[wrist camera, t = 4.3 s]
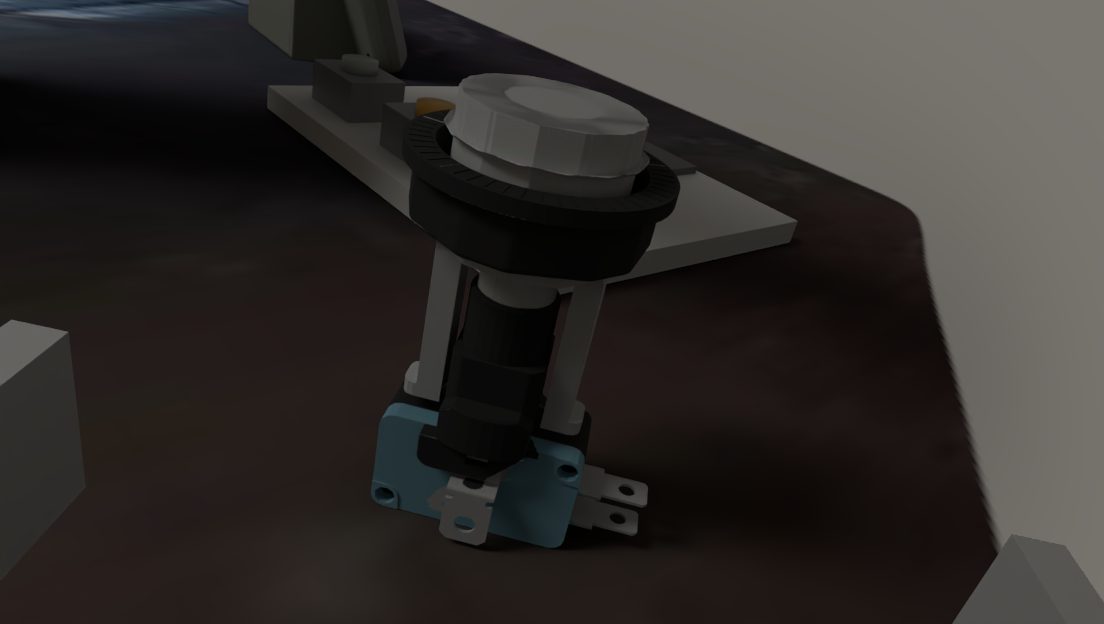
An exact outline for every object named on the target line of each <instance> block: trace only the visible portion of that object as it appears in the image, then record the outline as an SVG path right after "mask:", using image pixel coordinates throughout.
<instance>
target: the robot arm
mask: <svg viewBox="0 0 1104 624" xmlns="http://www.w3.org/2000/svg"><path fill="white" fill-rule="evenodd" d="M85 487H86V486H85V477H84V468H83V459H82V450H81V441H80V432H79V423H78V414H77V404H76V395H75V386H74V377H73V368H72V359H71V350H70V341H69V332H66V331H61V330H57V329H52V328H47V327H43V326H38V325H33V324H29V323H24V322H19V321H15V320H10V321H9V322H8V323H6V324H5V325H3V326H2V327H0V581H1V580H2V579H3V578H4V576H5V575H6V574H7V573H8V572H9V571H10V570H11V569H12V568H13V566H14V565H15V564H16V563H17V562H18V561H19V560H20V559H21V558H22V557H23V555H24V554H25V553H26V552H27V551H28V550H29V549H30V548H31V547H32V546H33V544H34V543H35V542H36V541H37V540H38V539H39V538H40V537H41V536H42V534H43V533H44V532H45V531H46V530H47V529H48V528H49V527H50V526H51V525H52V523H53V522H54V521H55V520H56V519H57V518H58V517H59V516H60V515H61V514H62V512H63V511H64V510H65V509H66V508H67V507H68V506H69V505H70V504H71V502H72V501H73V500H74V499H75V498H76V497H77V496H78V495H79V494H80V493H81V491H82V490H83V489H84V488H85ZM952 624H1104V603H1103V601H1102V599H1101V598H1100V596H1099V595H1098V593H1097V592H1096V591H1095V589H1094V588H1093V586H1092V585H1091V583H1090V582H1089V580H1088V579H1087V578H1086V576H1085V575H1084V573H1083V571H1082V570H1081V569H1080V567H1079V566H1078V564H1077V563H1076V561H1075V560H1074V558H1073V557H1072V556H1071V554H1070V552H1069V551H1068V550H1067V548H1066V547H1065V546H1064V545H1059V544H1054V543H1049V542H1045V541H1040V540H1036V539H1031V538H1026V537H1022V536H1017V535H1011V537H1010V538H1009V539H1008V541H1007V542H1006V544H1005V545H1004V547H1003V548H1002V550H1001V551H1000V553H999V554H998V556H997V557H996V559H995V560H994V562H993V563H992V565H991V566H990V568H989V569H988V571H987V572H986V574H985V575H984V577H983V578H982V580H981V581H980V583H979V584H978V586H977V587H976V589H975V590H974V592H973V593H972V595H971V596H970V598H969V599H968V601H967V602H966V604H965V605H964V607H963V608H962V610H961V611H960V613H959V614H958V616H957V617H956V619H955V620H954V622H953V623H952Z"/></svg>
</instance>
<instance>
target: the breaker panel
mask: <svg viewBox="0 0 1104 624" xmlns="http://www.w3.org/2000/svg"><path fill="white" fill-rule="evenodd" d="M378 65H379V61H378V60H376V59H374V58H372V57H368V56H364V55H358V54H345V55H343V56H342V60H333V59H314V68H313V86H268V98H267V108H268V109H269V110H270V111H272V112H273V113H274V114H276V115H277V116H278V117H279V118H281V119H282V120H283V121H285V122H286V123H287V124H289V125H290V126H291V127H292V128H294V129H295V130H296V131H298V132H299V133H300V134H301V135H303V136H304V137H305V138H307V139H308V140H309V141H310V142H312V143H313V144H314V145H316V146H317V147H318V148H319V149H321V150H322V151H323V152H325V153H326V154H327V155H328V156H330V157H331V158H332V159H334V160H335V161H336V162H337V163H339V164H340V165H341V166H343V167H344V168H345V169H347V170H348V171H349V172H350V173H352V174H353V175H354V176H356V177H357V178H358V179H359V180H361V181H362V182H363V183H365V184H366V185H367V186H368V187H370V188H371V189H372V190H374V191H375V192H376V193H377V194H379V195H380V196H381V197H383V198H384V199H385V200H386V201H388V202H389V203H390V204H392V205H393V206H394V207H395V208H397V209H398V210H399V211H401V212H402V213H403V214H405V215H406V216H407V217H408V218H410V219H411V217H410V215H409V190H410V182H411V174H412V170H411V169H410V167H409V166H408V165H407V164H406V162H405V160H404V159H403V156H402V142H403V133H404V129H405V126H406V125H407V124H408V122H410V121H411V120H412V119H414V118H416V117H418V116H420V115H423V114H426V113H430V112H434V111H440V110H448V109H456V104H457V97H458V90H459V87H427V86H405V85H406V83H404V82H403V81H401V80H399V79H398V78H396V77H394V76H392V75H391V74H389V73H387V72H386V71H384V70H382V69H380V68H379V67H378ZM643 150H645V151H646V152H648V153H650V154H651V155H653V156H655V157H656V158H658V159H659V160H661V161H662V162H663V163H665V164H666V165H667V166H668V167H669V168H670V169H671V170H672V171H673V172H674V173H675V175H676V176H677V177H678V179H679V182H680V193H679V196H678V199H677V203H676V206H675V209H674V211H673V212H672V213H671V214H670V215H669V216H668V217H667V218H665V219H664V220H662V221H660V222H658V223H656V226H655V230H654V233H653V236H652V240H651V243H650V246H649V247H648V249H647V250H646V251H645V253H644V254H643V256H642V257H641V258H640V260H639V261H638V262H637V264H636V265H635V267H634V268H633V269H632V271H631V272H630V273H628V274H626V275H621V276H617V277H612V278H608V280H607V284H609V283H613V282H618V281H622V280H627V279H631V278H635V277H640V276H644V275H649V274H653V273H657V272H662V271H666V270H671V269H675V268H679V267H684V266H688V265H693V264H697V263H701V262H706V261H710V260H715V259H719V258H724V257H728V256H732V255H737V254H741V253H746V252H750V251H754V250H759V249H763V248H768V247H772V246H776V245H781V244H785V243H790V240H791V238H792V235H793V233H794V230H795V227H796V225H797V222H798V221H797V220H795V219H793V218H791V217H788V216H786V215H784V214H782V213H780V212H778V211H776V210H774V209H772V208H770V207H768V206H766V205H764V204H762V203H760V202H758V201H756V200H754V199H752V198H750V197H748V196H746V195H744V194H742V193H740V192H738V191H736V190H734V189H732V188H730V187H728V186H726V185H724V184H722V183H720V182H718V181H716V180H714V179H712V178H710V177H708V176H706V175H704V174H702V173H700V172H698V171H697V166H695V165H693V164H691V163H689V162H687V161H685V160H683V159H681V158H679V157H677V156H675V155H673V154H671V153H669V152H667V151H665V150H663V149H661V148H659V147H657V146H655V145H652V144H650V143H648V142H646V141H645V142H644V145H643ZM411 220H412V219H411ZM412 221H413V220H412ZM416 224H417V223H416ZM417 225H418V224H417ZM421 228H422V227H421ZM426 232H427V231H426ZM475 270H477V269H475ZM477 271H478V272H480V271H479V270H477ZM573 290H574V286H571V287H566V288H558V292H559V293H560V294H565V293H569V292H573Z"/></svg>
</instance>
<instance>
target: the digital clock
mask: <svg viewBox="0 0 1104 624" xmlns="http://www.w3.org/2000/svg"><path fill="white" fill-rule="evenodd" d="M249 25H250V26H251V27H253V28H254V29H255V30H257V31H258V32H259V33H260V34H262V35H263V36H264V37H265V38H267V39H268V40H269V41H271V42H272V43H273V44H274V45H276V46H277V47H278V48H280V49H281V50H282V51H283V52H285V53H286V54H287V55H288V56H290V57H291V58H292V59H294V60H308V61H314V59H333V60H342V56H343V55H345V54H358V55H364V56H368V57H372V58H374V59H376V60H378V61H379V65H378V67H379V68H380V69H382V70H384V71H386V72H387V73H395V72H398V71H400V70H401V69H402V67H403V65H404V63H405V61H406V59H407V49H406V44H405V39H404V34H403V29H402V25H401V20H400V15H399V11H398V6H397V1H396V0H249Z"/></svg>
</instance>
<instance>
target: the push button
mask: <svg viewBox="0 0 1104 624" xmlns="http://www.w3.org/2000/svg"><path fill="white" fill-rule="evenodd" d="M648 127H649V124H648V123H647V118H645V117H644V116H643V115H642V114H641V113H640V112H639V111H638V110H636V109H634V108H633V107H632V106H630V105H627V104H625V103H623V102H621V101H618V100H616V99H614V98H612V97H610V96H608V95H605V94H602V93H599V92H596V91H592V90H589V89H585V88H582V87H579V86H575V85H572V84H569V83H564V82H559V81H554V80H548V79H543V78H538V77H532V76H525V75H511V74H498V73H493V74H481V75H474V76H469V77H468V78H466V79H462V82H461V83H460V84H459V90H458V97H457V104H456V109H448V110H440V111H434V112H430V113H426V114H423V115H420V116H418V117H416V118H414V119H412V120H411V121H410V122H408V124H407V125H406V126H405V129H404V133H403V142H402V156H403V159H404V160H405V162H406V164H407V165H408V166H409V167H410V169H411V170H412V174H411V182H410V190H409V215H410V217H411V219H412V220H413V221H414V222H415V223H417V224H418V225H419V226H420V227H422V228H423V229H424V230H425V231H427V232H428V233H429V234H430V235H432V236H433V237H434V238H435V239H437V243H436V250H435V257H434V264H433V271H432V278H431V285H430V291H429V298H428V305H427V312H426V319H425V326H424V333H423V340H422V347H421V354H420V361H416V362H414V363H412V364H411V366H410V367H409V369H408V371H407V372H406V375H405V379H404V381H403V383H402V384H401V386H400V388H399V390H398V391H397V393H396V395H395V396H394V398H393V400H392V402H391V403H390V405H389V407H388V409H387V411H386V413H385V414H384V416H383V418H382V420H381V422H380V424H379V432H378V440H377V448H376V457H375V465H374V473H373V480H372V487H371V495H372V498H373V499H374V500H375V501H376V503H378V504H380V505H383V506H386V507H390V508H393V509H397V508H398V509H401V510H405V511H409V512H413V513H417V514H421V515H424V516H428V517H432V518H436V519H440V520H441V521H440V527H439V531H440V532H441V533H442V534H443V535H444V537H446V538H450V539H454V540H458V541H462V542H465V543H469V544H473V545H479V544H482V543H484V542H485V540H486V536H487V532H490V533H493V534H497V535H501V536H505V537H509V538H512V539H516V540H520V541H524V542H528V543H532V544H535V545H539V546H543V547H547V548H555V547H558V546H560V545H561V544H562V542H563V541H564V538H565V534H566V531H567V527H568V524H571V525H575V526H579V527H583V528H587V529H590V530H591V529H592V525H593V526H596V527H600V528H604V529H608V530H612V531H616V532H620V533H623V534H627V535H631V536H634V535H636V534H637V526H638V514H637V513H636V512H635V511H632V510H628V509H625V508H621V507H617V506H613V505H609V504H605V503H601V502H597V501H600V500H601V497H603V498H607V499H611V500H615V501H618V502H622V503H626V504H630V505H634V506H638V507H642V508H643V507H645V506H646V505H647V493H648V486H647V485H646V484H645V483H641V482H637V481H633V480H629V479H625V478H621V477H618V476H614V475H610V474H606V473H604V471H605V469H602V468H598V467H594V466H591V465H587V464H584V463H585V457H586V451H587V445H588V439H589V433H590V427H591V421H592V420H591V416H590V415H589V413H588V412H586V411H585V407H584V405H583V404H582V403H581V402H580V401H577V400H576V396H577V393H578V389H579V385H580V381H581V378H582V374H583V370H584V366H585V363H586V359H587V355H588V351H589V348H590V344H591V340H592V336H593V333H594V329H595V325H596V321H597V318H598V314H599V310H600V306H601V303H602V299H603V295H604V291H605V288H606V284H607V280H608V278H612V277H617V276H621V275H626V274H628V273H630V272H631V271H632V269H633V268H634V267H635V265H636V264H637V262H638V261H639V260H640V258H641V257H642V256H643V254H644V253H645V251H646V250H647V249H648V247H649V246H650V243H651V240H652V236H653V233H654V230H655V226H656V223H658V222H660V221H662V220H664V219H665V218H667V217H668V216H669V215H670V214H671V213H672V212H673V211H674V209H675V206H676V203H677V199H678V196H679V193H680V182H679V179H678V177H677V176H676V175H675V173H674V172H673V171H672V170H671V169H670V168H669V167H668V166H667V165H666V164H665V163H663V162H662V161H661V160H659V159H658V158H656V157H655V156H653V155H651V154H650V153H648V152H646V151H645V150H643V145H644V142H645V138H646V134H647V130H648ZM468 266H469V267H472V268H474V269H477V270H479V271H480V272H479V274H478V275H477V276H475V278H474V279H473V280H472V283H471V288H470V293H469V299H468V305H467V311H466V317H465V322H464V327H463V329H462V331H461V333H460V335H459V337H458V339H457V341H456V338H457V332H458V326H459V320H460V314H461V308H462V302H463V296H464V290H465V284H466V278H467V272H468ZM571 286H574V290H573V295H572V299H571V303H570V307H569V311H568V315H567V319H566V323H565V327H564V331H563V335H562V339H561V344H560V348H559V352H558V356H557V360H556V364H555V368H554V372H553V376H552V380H551V384H550V388H549V393H548V397H547V398H546V397H545V396H544V395H543V393H542V392H543V388H544V384H545V380H546V375H547V369H548V365H549V361H550V357H551V353H552V349H553V344H554V340H555V336H554V335H553V333H554V328H555V324H556V320H557V316H558V311H559V307H560V303H561V296H560V293H559V292H558V288H566V287H571ZM621 486H627V487H629V488H631V489H632V490H633V491H634V495H632V496H626V495H624V494H622V493H621V492H620V491H619V489H618V488H619V487H621ZM596 500H597V501H596ZM612 514H618V515H620V516H622V517H623V518H624V520H625V523H623V524H616V523H614V522H613V521H611V519H610V517H609V516H610V515H612ZM456 524H459V525H463V526H467V527H470V528H473V529H472V530H462V529H460V528H459V527H457V526H456Z"/></svg>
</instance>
